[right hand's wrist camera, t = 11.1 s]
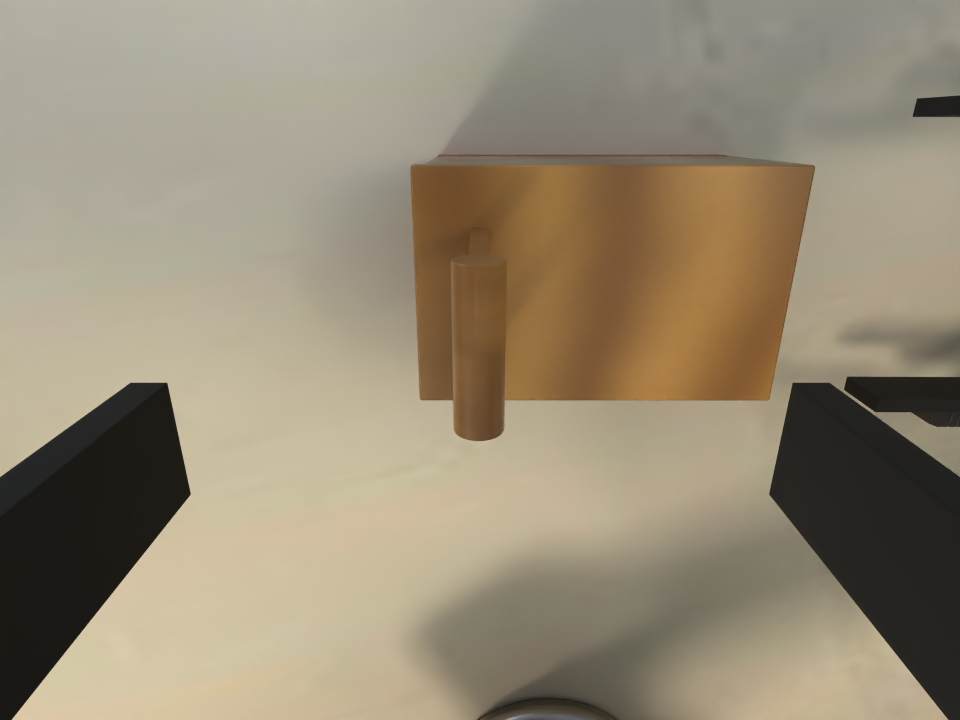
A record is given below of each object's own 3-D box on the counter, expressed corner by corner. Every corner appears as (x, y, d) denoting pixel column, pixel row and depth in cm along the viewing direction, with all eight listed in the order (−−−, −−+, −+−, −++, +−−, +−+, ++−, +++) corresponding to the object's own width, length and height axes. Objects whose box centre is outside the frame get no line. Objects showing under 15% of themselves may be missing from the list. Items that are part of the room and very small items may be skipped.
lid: (421, 392, 27) (397, 502, 19) (412, 164, 23) (377, 181, 15) (760, 392, 27) (877, 502, 19) (804, 163, 23) (971, 181, 15)
